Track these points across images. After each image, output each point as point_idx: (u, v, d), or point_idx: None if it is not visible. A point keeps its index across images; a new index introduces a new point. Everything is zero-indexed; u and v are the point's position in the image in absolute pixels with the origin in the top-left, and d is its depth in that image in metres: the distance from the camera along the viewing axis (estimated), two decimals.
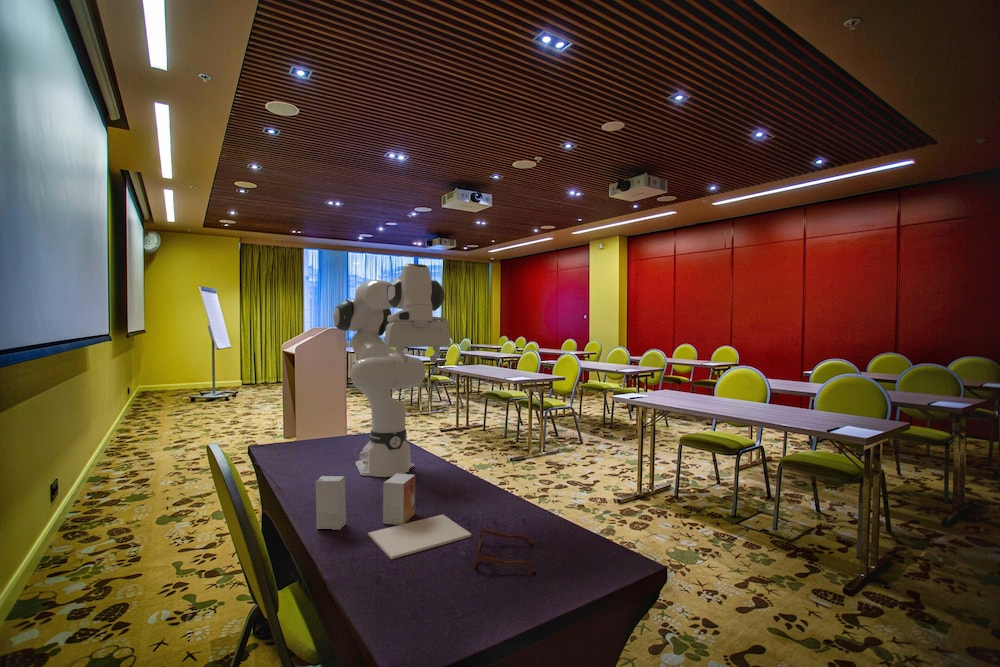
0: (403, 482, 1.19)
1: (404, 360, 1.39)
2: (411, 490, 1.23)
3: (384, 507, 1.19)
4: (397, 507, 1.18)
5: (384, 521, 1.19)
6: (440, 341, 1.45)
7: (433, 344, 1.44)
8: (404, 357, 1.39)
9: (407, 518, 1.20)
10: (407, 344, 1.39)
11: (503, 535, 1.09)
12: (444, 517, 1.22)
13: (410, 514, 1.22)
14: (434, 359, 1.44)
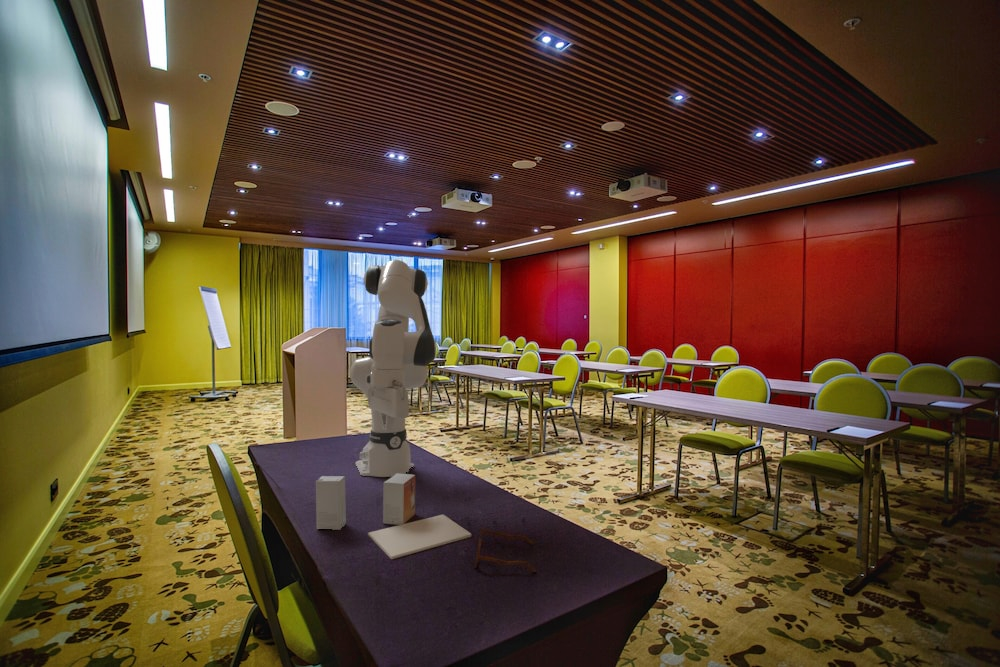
0: (403, 482, 1.19)
1: (382, 427, 1.29)
2: (411, 490, 1.23)
3: (384, 507, 1.19)
4: (397, 507, 1.18)
5: (384, 521, 1.19)
6: (390, 411, 1.22)
7: (387, 413, 1.24)
8: (382, 424, 1.29)
9: (407, 518, 1.20)
10: (375, 409, 1.31)
11: (503, 535, 1.09)
12: (444, 517, 1.22)
13: (410, 514, 1.22)
14: (385, 428, 1.28)
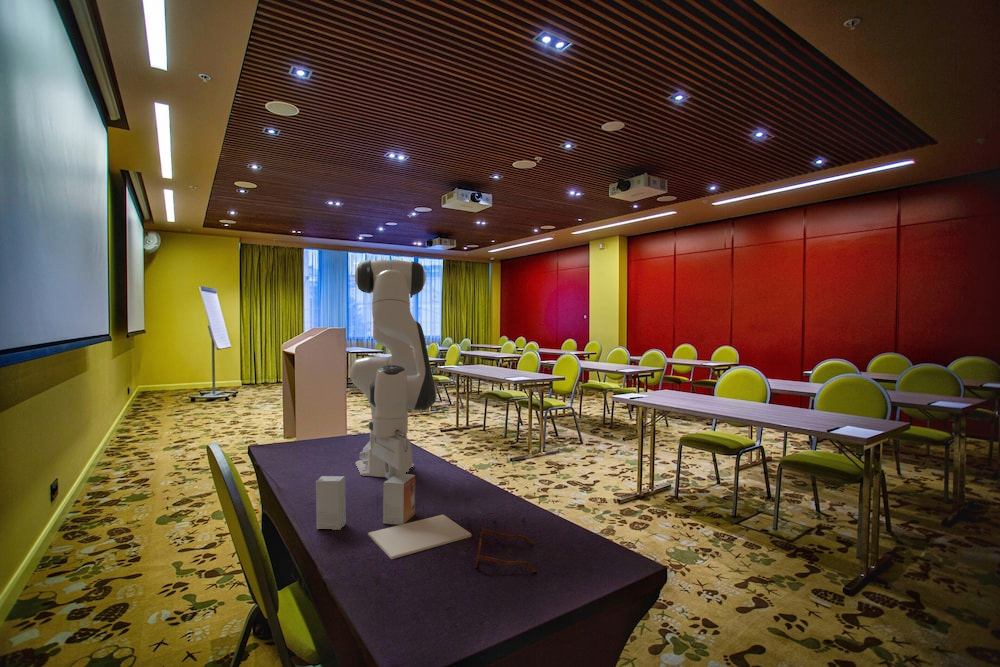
0: (403, 482, 1.19)
1: (385, 475, 1.27)
2: (411, 490, 1.23)
3: (384, 507, 1.19)
4: (397, 507, 1.18)
5: (384, 521, 1.19)
6: (393, 462, 1.21)
7: (390, 463, 1.22)
8: (385, 472, 1.27)
9: (407, 518, 1.20)
10: (377, 456, 1.29)
11: (503, 535, 1.09)
12: (444, 517, 1.22)
13: (410, 514, 1.22)
14: (388, 477, 1.26)
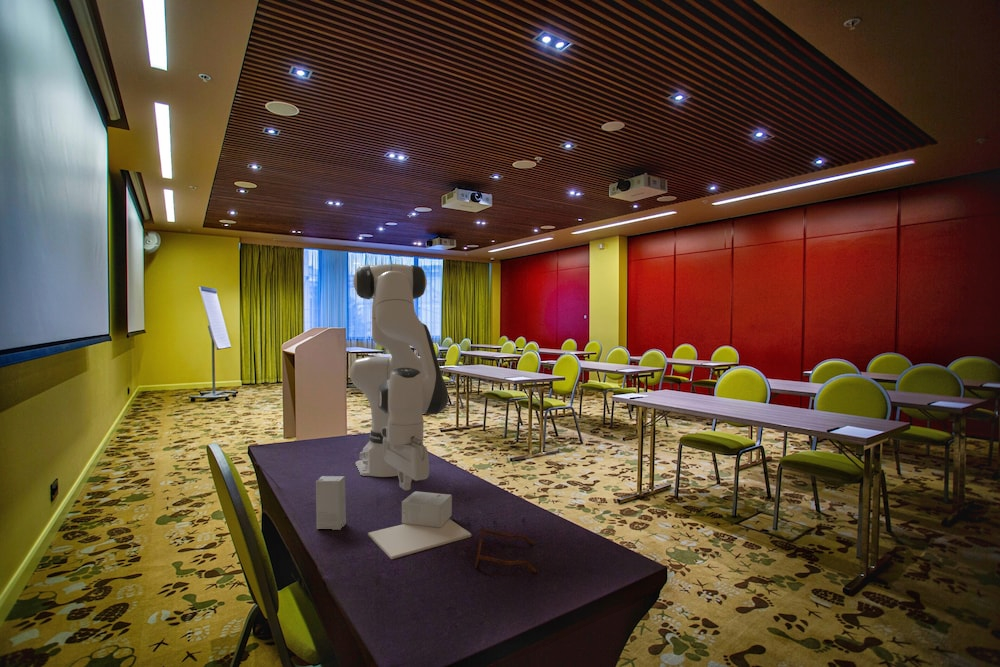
0: (442, 524, 1.16)
1: (399, 485, 1.19)
2: None
3: (416, 504, 1.17)
4: (417, 519, 1.17)
5: (403, 503, 1.18)
6: (409, 472, 1.13)
7: (405, 473, 1.15)
8: (399, 482, 1.19)
9: None
10: (391, 464, 1.22)
11: (504, 535, 1.09)
12: None
13: None
14: (402, 487, 1.18)
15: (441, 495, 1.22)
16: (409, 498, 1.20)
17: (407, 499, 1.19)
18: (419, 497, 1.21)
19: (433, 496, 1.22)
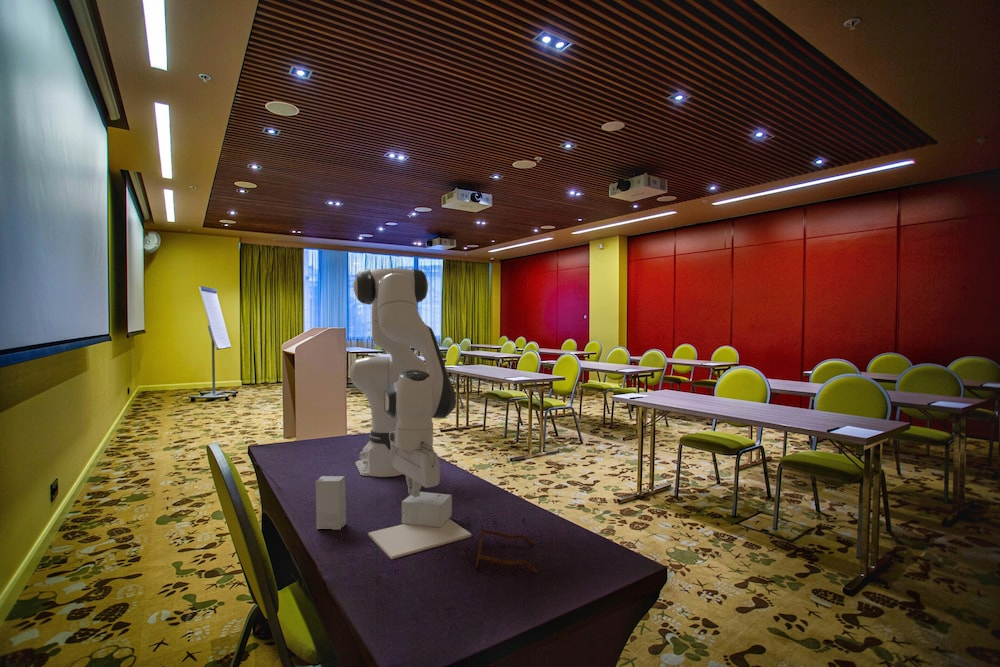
0: (442, 524, 1.16)
1: (408, 492, 1.15)
2: None
3: (416, 504, 1.17)
4: (417, 519, 1.17)
5: (403, 503, 1.18)
6: (418, 478, 1.09)
7: (414, 479, 1.11)
8: (408, 488, 1.15)
9: None
10: (399, 470, 1.18)
11: (504, 535, 1.09)
12: None
13: None
14: (411, 494, 1.14)
15: (441, 495, 1.22)
16: (409, 498, 1.20)
17: (407, 499, 1.19)
18: (419, 497, 1.21)
19: (433, 496, 1.22)
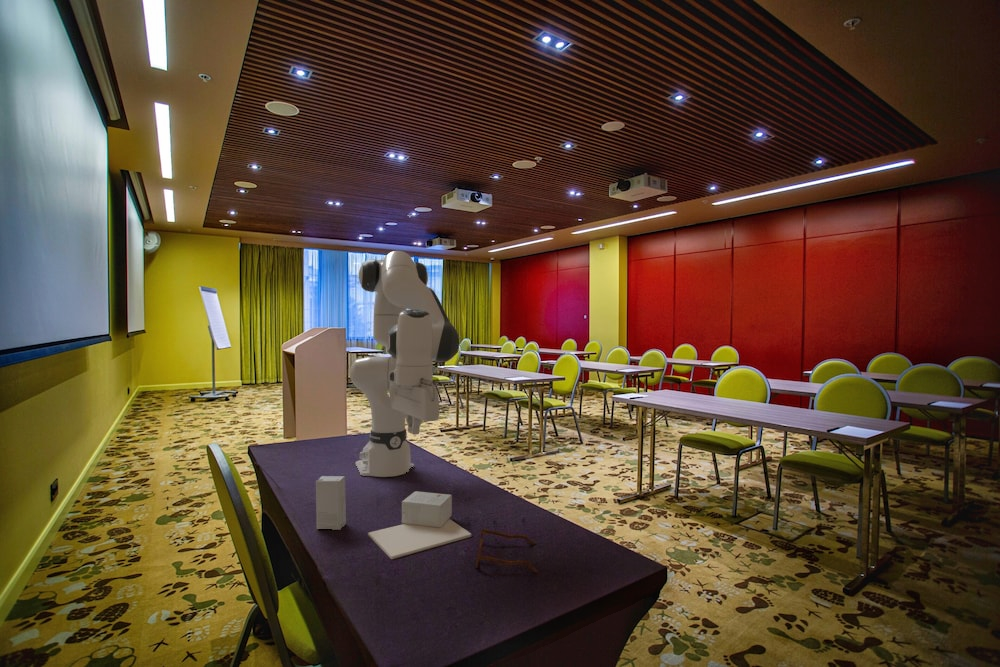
0: (442, 524, 1.16)
1: (408, 430, 1.16)
2: None
3: (416, 504, 1.17)
4: (417, 519, 1.17)
5: (403, 503, 1.18)
6: (418, 413, 1.09)
7: (414, 415, 1.11)
8: (408, 426, 1.16)
9: None
10: (399, 409, 1.18)
11: (504, 535, 1.09)
12: None
13: None
14: (411, 431, 1.15)
15: (441, 495, 1.22)
16: (409, 498, 1.20)
17: (407, 499, 1.19)
18: (419, 497, 1.21)
19: (433, 496, 1.22)
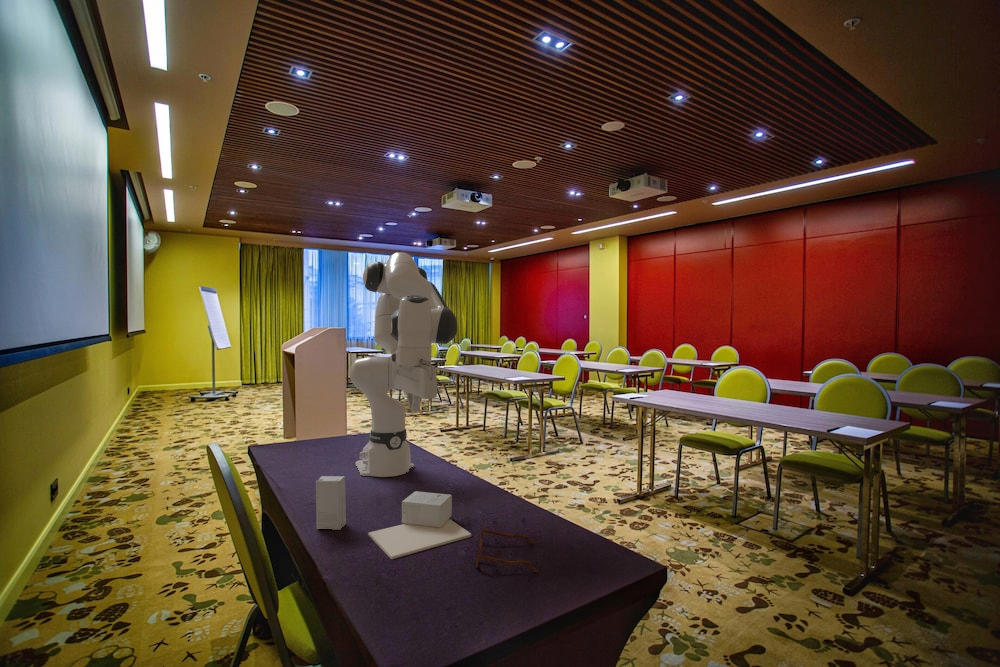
0: (442, 524, 1.16)
1: (409, 407, 1.26)
2: None
3: (416, 504, 1.17)
4: (417, 519, 1.17)
5: (403, 503, 1.18)
6: (418, 391, 1.19)
7: (414, 393, 1.21)
8: (408, 403, 1.26)
9: None
10: (400, 388, 1.28)
11: (504, 535, 1.09)
12: None
13: None
14: (411, 408, 1.24)
15: (441, 495, 1.22)
16: (409, 498, 1.20)
17: (407, 499, 1.19)
18: (419, 497, 1.21)
19: (433, 496, 1.22)
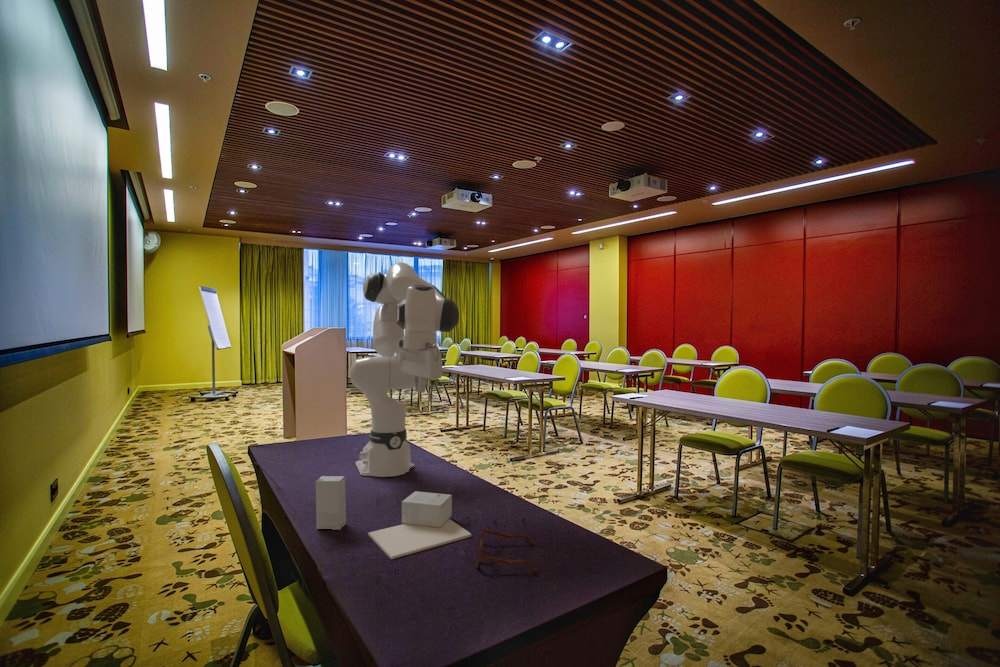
0: (442, 524, 1.16)
1: (415, 389, 1.33)
2: None
3: (416, 504, 1.17)
4: (417, 519, 1.17)
5: (403, 503, 1.18)
6: (424, 372, 1.27)
7: (420, 375, 1.29)
8: (415, 386, 1.33)
9: None
10: (407, 372, 1.36)
11: (504, 535, 1.09)
12: None
13: None
14: (418, 390, 1.32)
15: (441, 495, 1.22)
16: (409, 498, 1.20)
17: (407, 499, 1.19)
18: (419, 497, 1.21)
19: (433, 496, 1.22)
